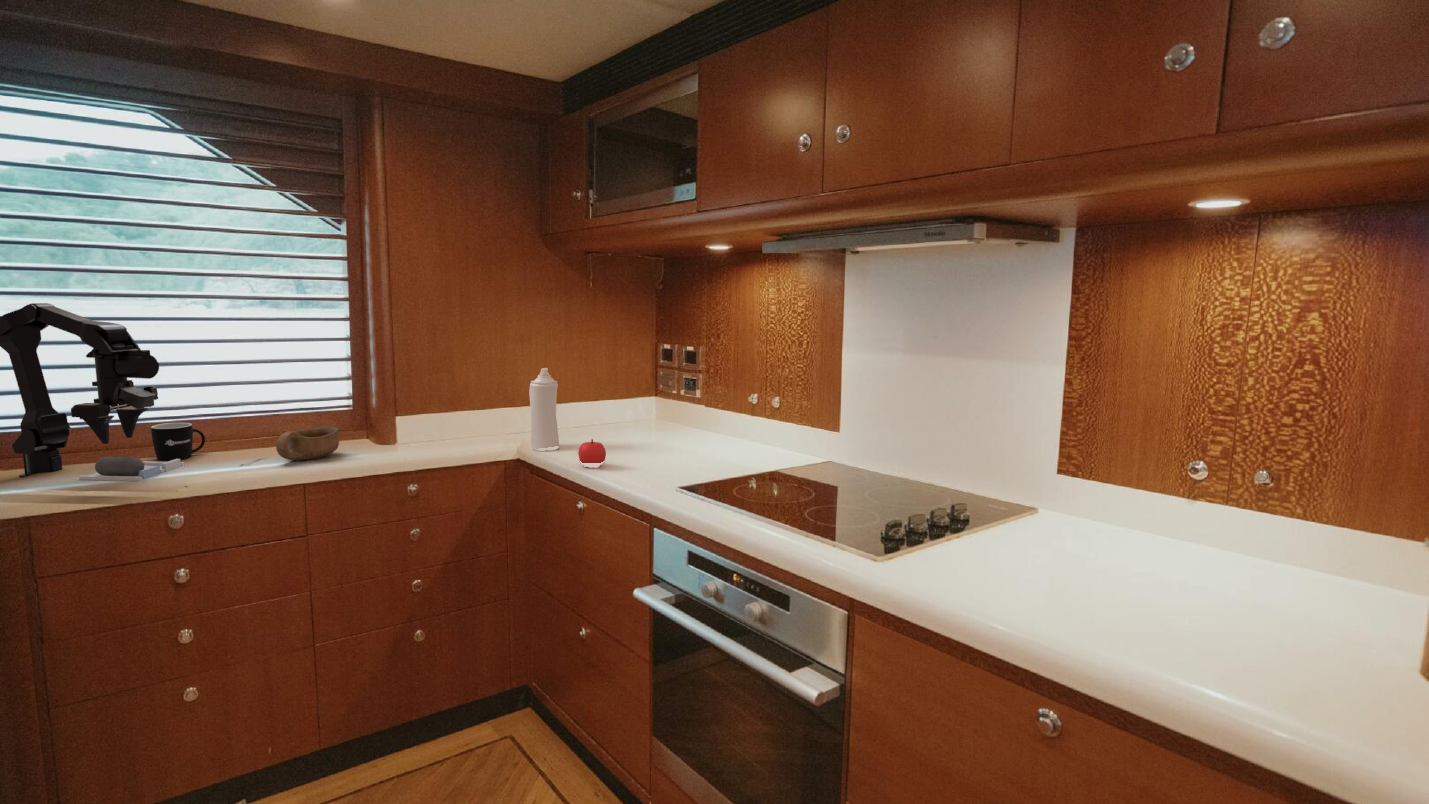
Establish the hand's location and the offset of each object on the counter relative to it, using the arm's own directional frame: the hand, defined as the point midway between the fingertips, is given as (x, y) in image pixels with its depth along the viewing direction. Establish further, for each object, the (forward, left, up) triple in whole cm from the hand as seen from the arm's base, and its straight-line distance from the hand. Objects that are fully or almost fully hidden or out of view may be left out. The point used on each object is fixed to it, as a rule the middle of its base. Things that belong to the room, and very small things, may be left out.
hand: (117, 440), depth 178 cm
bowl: (+31, +27, -10) cm, 43 cm away
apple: (+111, +25, -10) cm, 115 cm away
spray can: (+93, +49, -10) cm, 106 cm away
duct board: (0, +4, -10) cm, 11 cm away
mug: (0, +21, -10) cm, 23 cm away
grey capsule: (0, 0, -9) cm, 9 cm away
